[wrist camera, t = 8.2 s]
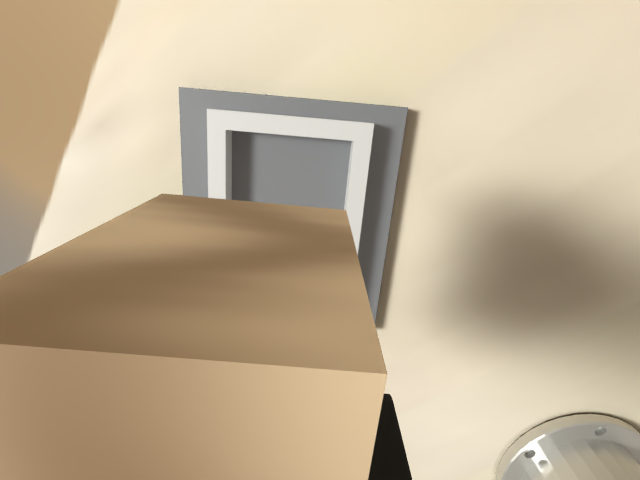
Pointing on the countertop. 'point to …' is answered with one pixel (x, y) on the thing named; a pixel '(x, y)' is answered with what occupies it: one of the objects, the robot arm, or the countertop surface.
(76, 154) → the countertop surface
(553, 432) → the robot arm
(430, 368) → the countertop surface
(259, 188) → the locator board
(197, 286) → the oak block
